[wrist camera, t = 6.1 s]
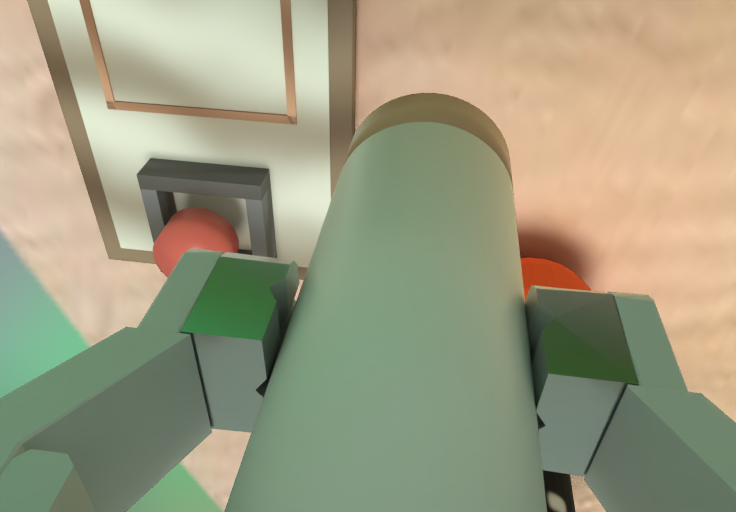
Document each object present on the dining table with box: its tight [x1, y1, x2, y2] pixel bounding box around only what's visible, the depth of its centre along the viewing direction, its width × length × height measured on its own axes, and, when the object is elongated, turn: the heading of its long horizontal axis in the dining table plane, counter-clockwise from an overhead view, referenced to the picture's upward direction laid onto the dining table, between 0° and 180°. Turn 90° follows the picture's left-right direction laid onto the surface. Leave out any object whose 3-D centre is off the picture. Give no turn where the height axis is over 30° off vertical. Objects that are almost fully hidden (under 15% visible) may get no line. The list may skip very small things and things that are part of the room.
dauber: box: [225, 93, 547, 512], centre depth 7 cm, size 3×3×11 cm
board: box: [27, 0, 356, 280], centre depth 27 cm, size 20×14×3 cm
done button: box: [153, 207, 239, 277], centre depth 29 cm, size 4×4×2 cm
